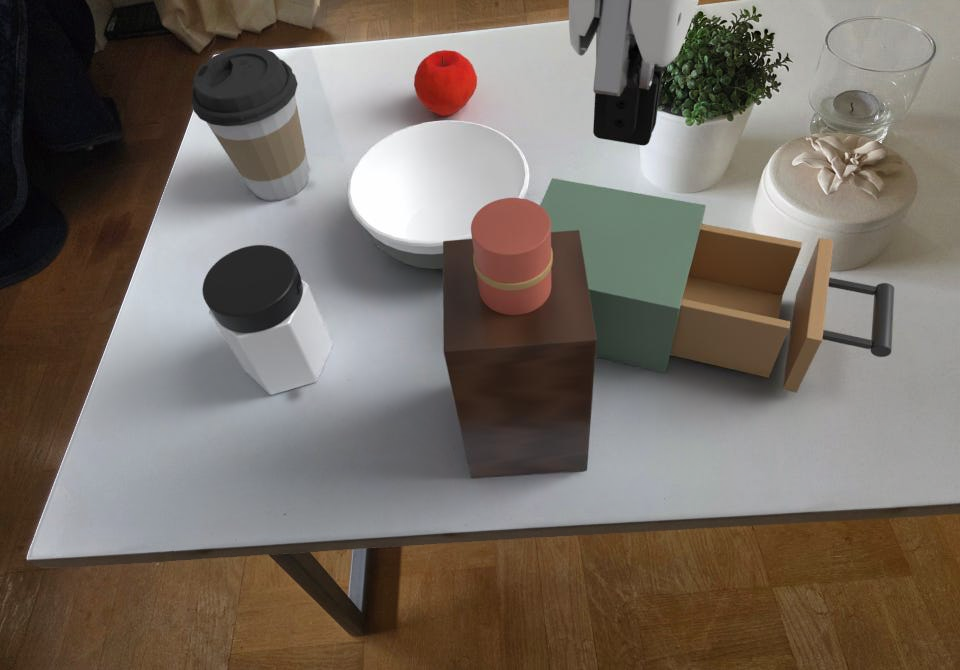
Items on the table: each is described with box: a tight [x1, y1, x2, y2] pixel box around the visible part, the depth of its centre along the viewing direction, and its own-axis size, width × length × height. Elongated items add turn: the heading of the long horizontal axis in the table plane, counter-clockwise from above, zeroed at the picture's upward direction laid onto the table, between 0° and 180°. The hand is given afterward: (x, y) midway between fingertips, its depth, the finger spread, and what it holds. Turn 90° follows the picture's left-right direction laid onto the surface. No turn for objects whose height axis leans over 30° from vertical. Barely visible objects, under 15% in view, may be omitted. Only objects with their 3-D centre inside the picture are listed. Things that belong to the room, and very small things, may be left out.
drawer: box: [670, 223, 895, 393], centre depth 65 cm, size 19×11×8 cm, turn 70°
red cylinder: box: [471, 198, 553, 315], centre depth 48 cm, size 5×5×6 cm
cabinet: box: [539, 177, 707, 374], centre depth 69 cm, size 15×13×10 cm
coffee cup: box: [190, 46, 310, 202], centre depth 82 cm, size 11×11×15 cm
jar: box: [201, 244, 334, 396], centre depth 67 cm, size 9×8×12 cm
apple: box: [413, 49, 478, 117], centre depth 91 cm, size 8×8×7 cm
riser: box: [442, 230, 597, 479], centre depth 58 cm, size 10×10×19 cm
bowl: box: [346, 119, 530, 270], centre depth 77 cm, size 19×19×8 cm
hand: (624, 132), depth 42 cm, fingers closed
